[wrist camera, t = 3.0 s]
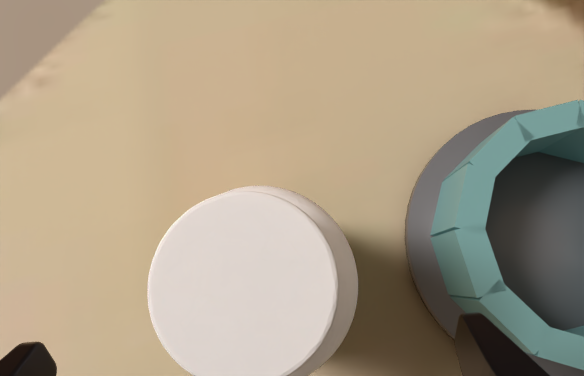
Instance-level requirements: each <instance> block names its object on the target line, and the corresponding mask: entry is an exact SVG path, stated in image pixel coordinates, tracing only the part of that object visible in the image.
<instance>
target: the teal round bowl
mask: <svg viewBox="0 0 584 376" xmlns="http://www.w3.org/2000/svg"><path fill="white" fill-rule="evenodd" d="M405 245H406V255H407V259H408V264H409V268H410V272H411V275H412V277H413V280H414V283H415V286H416V288H417V290H418V292H419V294H420V296H421V298H422V300H423V302H424V304H425V306H426V307H427V308H428V310H429V311H430V313H431V314H432V316H433V317H434V319H435V320H436V321H437V322H438V324H439V325H440V326H441V327H442V328H443V329H444V330H445V331H446V333H447V334H448V335H449V336H450V337H452V338H453V339H454V340H455V333H456V328H457V323H458V318H459V316H460V314H462V313H470V312H479V313H481V314H483V315H484V316H485V317H487V318H488V319H489V320H490V321H491V322H492V323H493V324H494V325H495V326H496V327H498V328H499V329H500V330H501V331H502V332H503V333H504V334H505V335H506V336H507V337H509V338H510V339H511V340H512V341H513V342H514V343H515V344H516V345H517V346H518V347H520V348H521V349H522V350H523V351H524V352H525V353H526V354H527V355H528V356H529V357H531V358H532V359H533V360H534V361H535V362H536V363H537V364H538V365H539V366H541V367H542V368H543V369H544V370H545V371H546V372H547V373H548V374H549V375H550V376H584V101H583V100H580V101H578V100H575V101H572V102H568V103H564V104H560V105H556V106H552V107H548V108H544V109H540V110H521V111H513V112H507V113H502V114H498V115H495V116H492V117H489V118H486V119H483V120H481V121H479V122H477V123H475V124H473V125H470V126H469V127H467V128H466V129H464V130H463V131H461V132H459V133H458V134H456V135H455V136H454V137H453V138H452V139H451V140H449V141H448V142H447V143H446V144H445V145H444V146H443V147H442V148H441V149H440V150H439V151H438V152H437V153H436V154H435V155H434V156H433V157H432V159H431V160H430V161H429V162H428V163H427V165H426V166H425V168H424V169H423V171H422V172H421V174H420V176H419V178H418V180H417V182H416V184H415V186H414V188H413V191H412V194H411V197H410V200H409V204H408V208H407V214H406V220H405Z"/></svg>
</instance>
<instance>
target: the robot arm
mask: <svg viewBox="0 0 584 376" xmlns="http://www.w3.org/2000/svg"><path fill="white" fill-rule="evenodd" d="M455 348H456V352H457V356H458V360H459V363H460V367H461V371H462V375H463V376H550V375H549V374H548V373H547V372H546V371H545V370H544V369H543V368H542V367H541V366H539V365H538V364H537V363H536V362H535V361H534V360H533V359H532V358H531V357H529V356H528V355H527V354H526V353H525V352H524V351H523V350H522V349H521V348H520V347H518V346H517V345H516V344H515V343H514V342H513V341H512V340H511V339H510V338H509V337H507V336H506V335H505V334H504V333H503V332H502V331H501V330H500V329H499V328H498V327H496V326H495V325H494V324H493V323H492V322H491V321H490V320H489V319H488V318H487V317H485V316H484V315H483V314H481V313H479V312H470V313H462V314H460V316H459V318H458V323H457V328H456V333H455ZM56 373H57V367H56V363H55V361H54V360H53V358H52V357H51V355H50V354H49V352H48V350H47V349H46V347H45V346H44V344H43V343H41V342H26V343H21V344H19V345H18V346H16V347H15V348H14V349H13V350H12V351H10V352H9V353H8V354H7V355H6V356H5V357H3V358H2V359H1V360H0V376H56Z"/></svg>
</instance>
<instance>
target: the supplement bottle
mask: <svg viewBox="0 0 584 376" xmlns="http://www.w3.org/2000/svg"><path fill="white" fill-rule="evenodd" d="M357 298H358V274H357V269H356V264H355V259H354V256H353V253H352V250H351V248H350V246H349V243H348V241H347V239H346V237H345V235H344V234H343V232H342V230H341V229H340V227H339V226H338V225H337V223H336V222H335V221H334V220H333V219H332V218H331V217H330V215H329V214H328V213H327V212H326V211H324V210H323V209H322V208H321V207H320V206H318V205H317V204H316V203H314V202H313V201H311V200H309V199H308V198H306V197H304V196H302V195H300V194H298V193H295V192H293V191H290V190H286V189H282V188H278V187H272V186H247V187H241V188H236V189H232V190H229V191H227V192H225V193H222V194H220V195H217V196H213V197H211V198H209V199H206V200H204V201H202V202H200V203H198V204H197V205H195V206H193V207H192V208H191V209H189V210H188V211H186V212H185V213H184V214H183V215H182V216H180V217H179V218H178V219H177V220H176V221H175V222H174V224H173V225H172V226H171V227H170V228H169V229H168V231H167V232H166V234H165V235H164V237H163V238H162V240H161V242H160V243H159V245H158V247H157V249H156V252H155V255H154V258H153V260H152V264H151V267H150V272H149V277H148V307H149V311H150V316H151V321H152V323H153V326H154V329H155V331H156V334H157V336H158V338H159V340H160V341H161V343H162V345H163V347H164V348H165V349H166V351H167V352H168V353H169V354H170V356H171V357H172V358H173V359H174V360H175V361H176V362H177V363H178V364H179V365H180V366H181V367H182V368H183V369H185V370H186V371H188V372H189V373H190V374H192V375H194V376H308V375H310V374H311V373H312V372H314V371H315V370H317V369H318V368H319V367H321V366H322V365H323V364H324V363H325V362H326V361H327V360H328V359H329V358H330V357H331V356H332V355H333V354H334V353H335V351H336V350H337V349H338V348H339V346H340V345H341V343H342V341H343V340H344V338H345V337H346V335H347V333H348V331H349V328H350V326H351V323H352V321H353V318H354V314H355V310H356V305H357Z"/></svg>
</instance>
